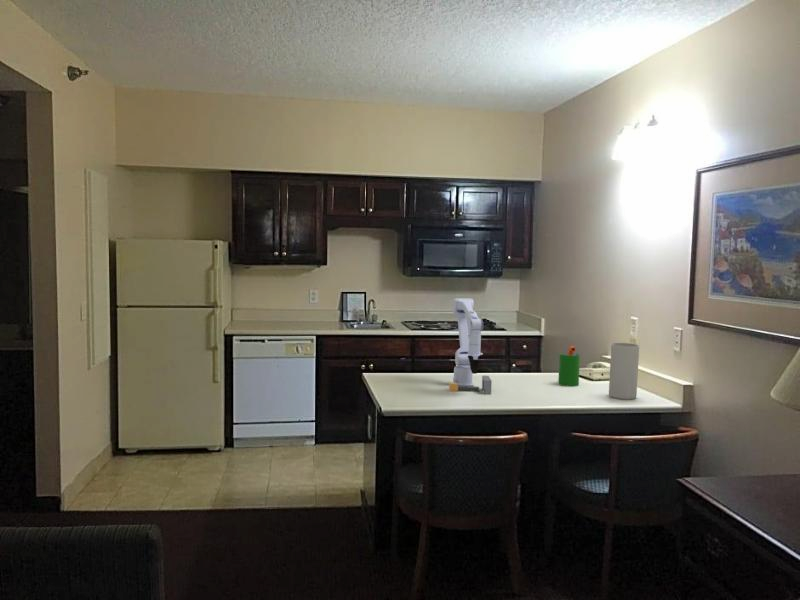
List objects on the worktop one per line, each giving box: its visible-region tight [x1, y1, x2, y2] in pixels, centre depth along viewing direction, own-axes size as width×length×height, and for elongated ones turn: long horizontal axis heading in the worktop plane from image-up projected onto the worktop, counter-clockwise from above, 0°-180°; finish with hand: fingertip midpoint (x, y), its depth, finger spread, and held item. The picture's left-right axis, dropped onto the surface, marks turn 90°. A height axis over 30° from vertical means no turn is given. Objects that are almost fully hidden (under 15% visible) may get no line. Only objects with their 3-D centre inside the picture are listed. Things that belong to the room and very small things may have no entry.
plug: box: [448, 382, 480, 393], centre depth 316 cm, size 14×4×4 cm, turn 90°
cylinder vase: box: [608, 342, 640, 400], centre depth 310 cm, size 12×12×25 cm
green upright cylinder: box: [557, 346, 581, 387], centre depth 336 cm, size 10×9×20 cm
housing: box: [481, 375, 493, 395], centre depth 316 cm, size 3×12×6 cm, turn 0°
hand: (473, 371), depth 315 cm, fingers open, 7 cm apart
